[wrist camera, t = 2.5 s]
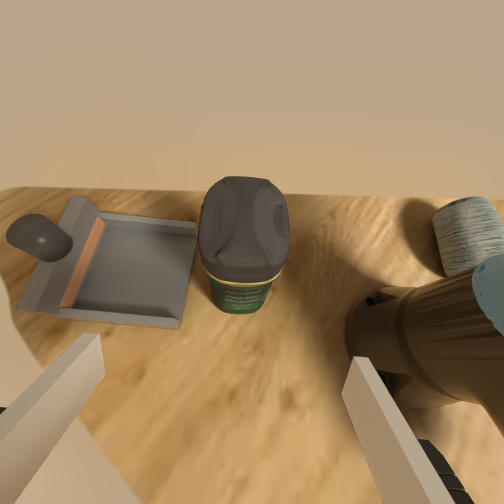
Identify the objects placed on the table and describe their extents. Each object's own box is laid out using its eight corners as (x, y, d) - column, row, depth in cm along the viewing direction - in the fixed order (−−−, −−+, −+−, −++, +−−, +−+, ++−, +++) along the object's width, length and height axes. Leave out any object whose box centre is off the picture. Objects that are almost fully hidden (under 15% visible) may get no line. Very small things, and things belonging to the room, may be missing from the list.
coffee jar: (266, 315, 33) (300, 273, 16) (211, 314, 33) (186, 269, 16) (265, 254, 37) (291, 168, 20) (215, 252, 37) (200, 163, 20)
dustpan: (199, 233, 38) (186, 189, 28) (179, 329, 32) (154, 317, 22) (93, 222, 37) (41, 173, 27) (52, 318, 31) (-35, 299, 21)
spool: (421, 196, 40) (503, 176, 31) (448, 216, 44) (527, 204, 35) (411, 272, 38) (497, 274, 29) (441, 286, 42) (524, 292, 33)
